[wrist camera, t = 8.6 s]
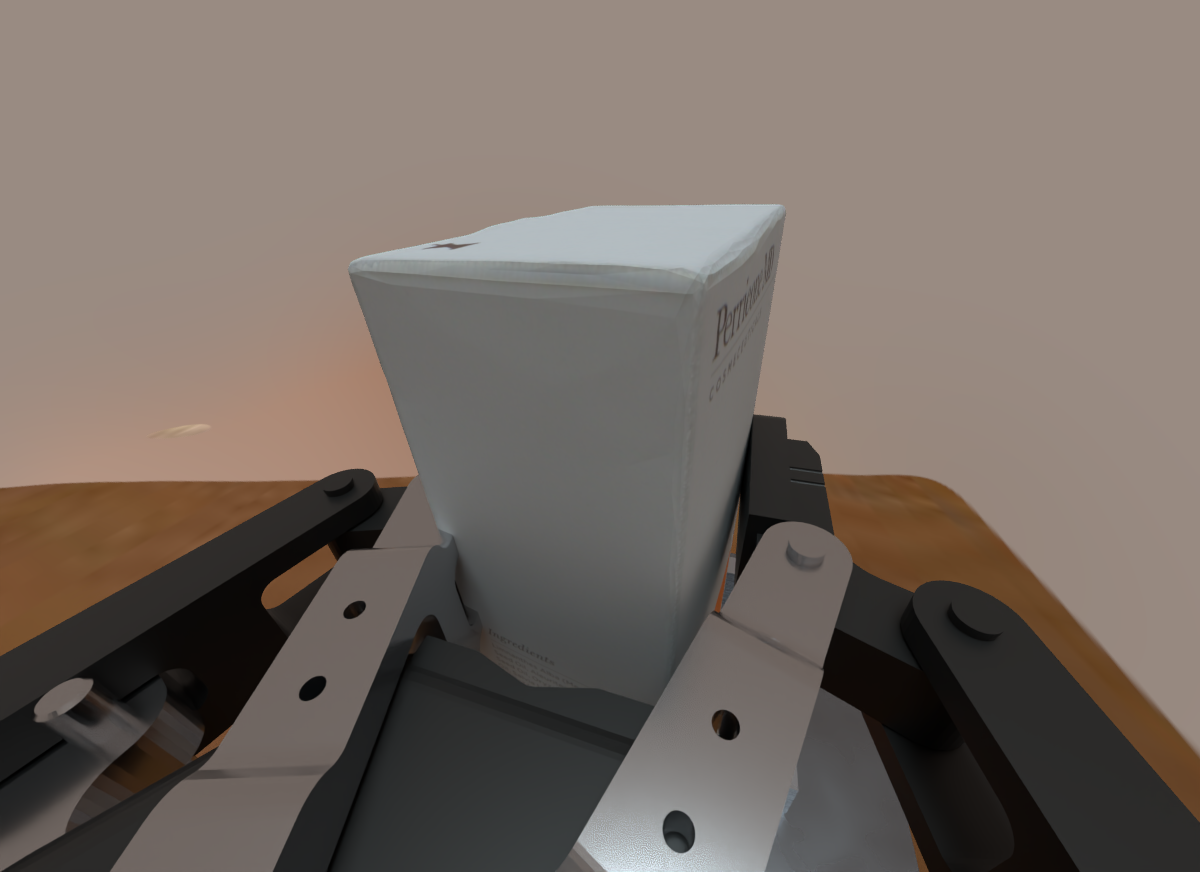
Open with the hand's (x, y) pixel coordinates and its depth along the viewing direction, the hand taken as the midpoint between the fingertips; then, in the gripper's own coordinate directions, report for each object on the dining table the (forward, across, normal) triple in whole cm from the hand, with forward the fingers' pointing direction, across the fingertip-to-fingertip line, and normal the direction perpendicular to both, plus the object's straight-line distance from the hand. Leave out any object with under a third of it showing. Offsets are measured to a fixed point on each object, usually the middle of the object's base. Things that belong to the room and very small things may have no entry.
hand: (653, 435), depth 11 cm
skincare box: (-3, 0, +7) cm, 7 cm away
